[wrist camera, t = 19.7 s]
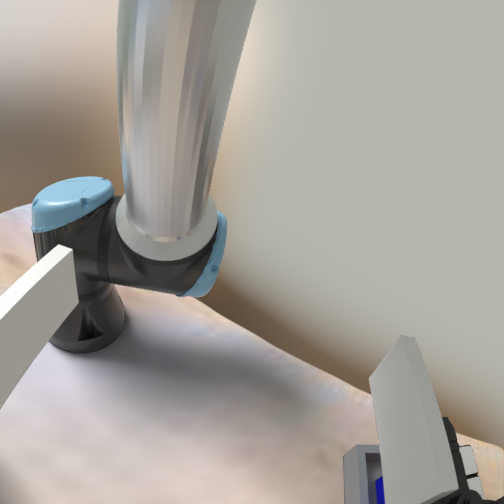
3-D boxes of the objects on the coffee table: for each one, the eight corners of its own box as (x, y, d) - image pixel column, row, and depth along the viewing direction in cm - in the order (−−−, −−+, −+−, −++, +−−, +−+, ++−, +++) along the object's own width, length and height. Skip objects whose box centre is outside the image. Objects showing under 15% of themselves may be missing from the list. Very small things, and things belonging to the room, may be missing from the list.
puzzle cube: (373, 480, 30) (417, 449, 26) (427, 474, 31) (471, 442, 26) (377, 542, 22) (429, 523, 17) (436, 529, 22) (487, 505, 17)
